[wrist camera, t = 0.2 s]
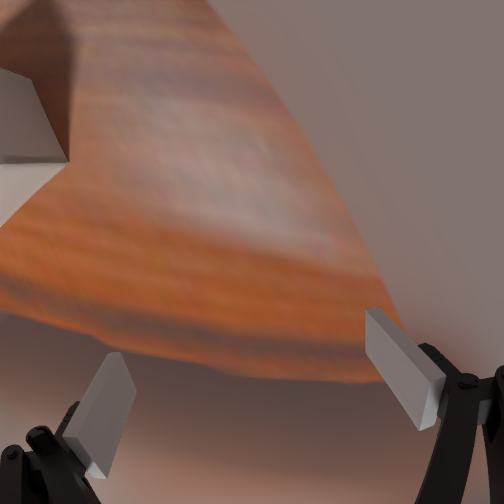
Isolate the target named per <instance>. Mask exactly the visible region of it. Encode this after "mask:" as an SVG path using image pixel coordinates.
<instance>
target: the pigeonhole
mask: <svg viewBox="0 0 504 504" xmlns="http://www.w3.org/2000/svg"><path fill="white" fill-rule="evenodd" d="M68 164H69V162H68V160H67V158H66V156H65V154H64V152H63V150H62V148H61V146H60V144H59V142H58V140H57V137H56V135H55V133H54V131H53V129H52V127H51V125H50V122H49V120H48V118H47V116H46V113H45V111H44V109H43V107H42V104H41V102H40V100H39V97H38V95H37V92H36V90H35V88H34V85H33V83H32V80H31V79H29V78H27V77H24V76H21V75H19V74H16V73H13V72H11V71H8V70H5V69H3V68H0V227H1V226H2V225H3V224H4V223H5V222H6V221H7V220H8V219H9V218H10V217H11V216H12V215H13V214H14V213H15V212H16V211H17V210H18V209H19V208H20V207H21V206H22V205H23V204H24V203H25V202H26V201H27V200H28V199H29V198H30V197H31V196H32V195H33V194H34V193H36V192H37V191H38V190H39V189H40V188H41V187H42V186H43V185H44V184H45V183H47V182H48V181H49V180H50V179H51V178H52V177H53V176H55V175H56V174H57V173H58V172H59V171H60V170H62V169H63V168H64V167H65V166H66V165H68Z"/></svg>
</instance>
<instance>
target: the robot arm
mask: <svg viewBox="0 0 504 504" xmlns="http://www.w3.org/2000/svg"><path fill="white" fill-rule="evenodd" d="M365 323H366V354H367V355H368V357H369V358H370V360H371V361H372V363H373V364H374V365H375V367H376V368H377V370H378V371H379V373H380V374H381V375H382V377H383V378H384V380H385V381H386V383H387V384H388V386H389V387H390V388H391V390H392V391H393V393H394V394H395V396H396V397H397V399H398V400H399V402H400V403H401V405H402V406H403V408H404V409H405V410H406V412H407V413H408V415H409V416H410V418H411V419H412V421H413V422H414V424H415V425H416V427H417V428H418V430H419V431H420V430H423V429H425V428H428V427H430V426H432V425H434V424H435V421H436V417H437V415H438V417H439V418H440V419H441V425H440V428H439V431H438V434H437V439H436V443H435V446H434V450H433V453H432V456H431V459H430V462H429V466H428V468H427V471H426V475H425V478H424V480H423V483H422V485H421V488H420V491H419V493H418V496H417V498H416V501H415V503H414V504H461V501H462V497H463V493H464V489H465V485H466V482H467V477H468V473H469V468H470V464H471V459H472V453H473V448H474V442H475V436H476V429H477V425H481V424H482V429H483V436H484V442H485V449H486V456H487V465H488V475H489V488H490V504H504V365H503V366H500V367H499V368H498V369H497V370H496V373H495V376H494V377H490V378H485V379H479V378H478V377H477V376H475V375H474V374H470V373H461V372H460V371H459V370H458V369H457V368H456V367H455V366H454V365H452V363H451V362H450V361H449V360H448V359H445V357H444V356H443V355H442V354H440V352H439V351H438V350H437V349H436V348H435V347H434V346H432V345H429V344H427V343H423V344H420V345H416V344H415V343H414V342H413V341H412V340H411V339H410V338H409V337H408V336H407V335H406V334H405V333H404V331H403V330H402V329H401V328H400V327H399V326H398V325H396V324H395V323H394V322H393V321H392V320H391V319H390V318H389V317H388V316H387V315H386V314H385V313H384V312H383V311H382V310H381V309H380V308H379V307H374V308H370V309H366V310H365ZM136 393H137V390H136V388H135V385H134V383H133V381H132V379H131V376H130V374H129V372H128V369H127V367H126V364H125V362H124V359H123V357H122V354H121V352H113V353H108V355H107V356H106V358H105V359H104V361H103V363H102V365H101V366H100V368H99V370H98V371H97V373H96V375H95V377H94V378H93V380H92V382H91V384H90V385H89V387H88V389H87V391H86V393H85V394H84V396H83V398H82V400H81V401H78V402H77V401H76V402H75V403H74V404H73V405H72V406H71V407H70V408H69V409H68V412H67V413H66V416H65V417H64V418H63V422H61V424H60V426H59V427H58V429H57V431H56V433H55V435H53V434H52V432H51V430H50V429H49V428H48V427H47V426H37V427H34V428H33V429H31V430H30V431H29V432H28V433H27V435H26V442H27V443H28V444H29V446H30V447H31V448H32V450H33V451H30V452H24V450H23V449H22V448H21V447H20V446H19V445H11V446H8V447H7V448H5V449H4V451H3V452H2V455H1V460H0V504H101V503H100V501H99V499H98V498H97V496H96V494H95V492H94V491H93V489H92V487H91V486H90V484H89V482H88V480H87V479H86V478H85V476H84V475H85V472H86V470H87V471H88V472H89V473H90V475H91V476H92V477H93V478H101V479H107V478H108V475H109V472H110V468H111V465H112V462H113V458H114V456H115V453H116V450H117V447H118V444H119V441H120V438H121V435H122V432H123V429H124V426H125V424H126V421H127V418H128V415H129V412H130V409H131V407H132V404H133V401H134V398H135V396H136Z"/></svg>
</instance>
